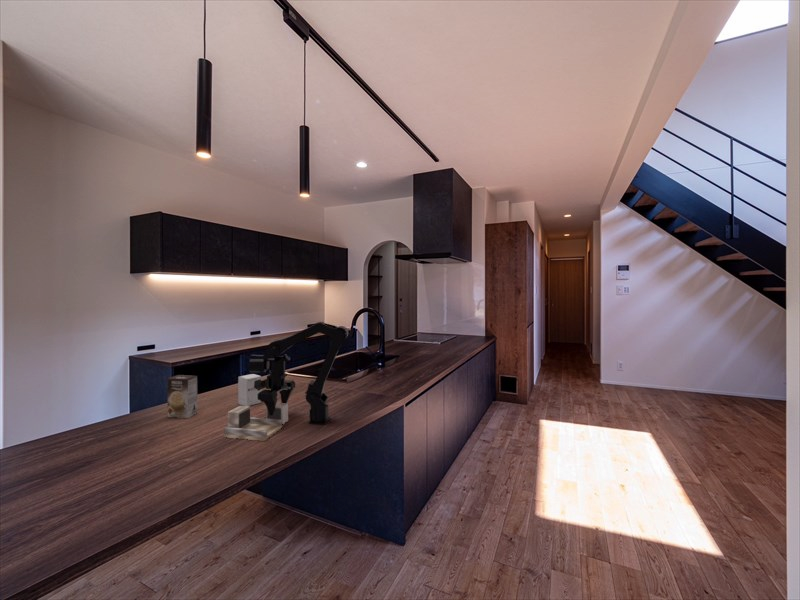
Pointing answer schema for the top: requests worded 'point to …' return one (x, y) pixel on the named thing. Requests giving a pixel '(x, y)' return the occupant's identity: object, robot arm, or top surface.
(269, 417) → the block
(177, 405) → the coffee box
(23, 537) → the top surface
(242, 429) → the beige clamp block
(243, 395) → the supplement box
